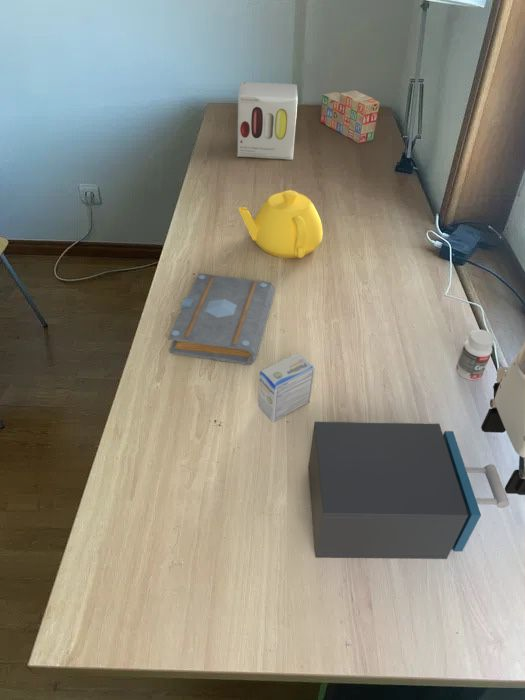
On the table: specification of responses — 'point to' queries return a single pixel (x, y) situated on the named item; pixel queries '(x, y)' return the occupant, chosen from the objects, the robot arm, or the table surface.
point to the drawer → (467, 491)
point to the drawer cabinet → (383, 491)
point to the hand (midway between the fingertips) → (504, 459)
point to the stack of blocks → (350, 114)
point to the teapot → (285, 225)
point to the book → (223, 319)
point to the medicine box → (285, 386)
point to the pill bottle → (475, 355)
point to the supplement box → (266, 120)
